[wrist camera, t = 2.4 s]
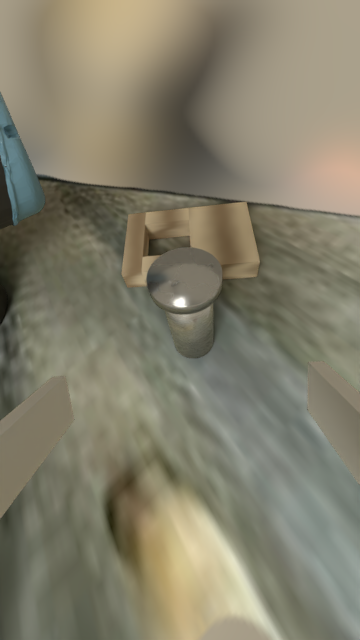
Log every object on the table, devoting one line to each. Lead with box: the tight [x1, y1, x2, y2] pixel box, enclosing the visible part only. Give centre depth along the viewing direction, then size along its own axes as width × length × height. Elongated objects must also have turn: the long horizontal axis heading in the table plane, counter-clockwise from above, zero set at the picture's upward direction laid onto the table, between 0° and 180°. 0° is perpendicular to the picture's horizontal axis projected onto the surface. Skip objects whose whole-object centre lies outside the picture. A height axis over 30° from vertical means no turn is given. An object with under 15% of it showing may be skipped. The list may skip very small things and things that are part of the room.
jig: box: [122, 202, 260, 288], centre depth 40 cm, size 18×12×3 cm, turn 91°
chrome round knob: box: [146, 247, 222, 358], centre depth 28 cm, size 6×6×12 cm
